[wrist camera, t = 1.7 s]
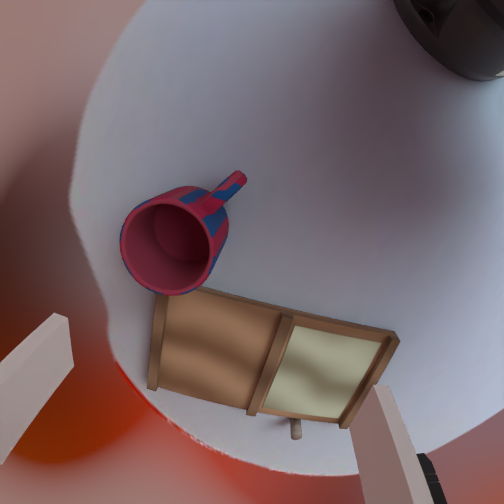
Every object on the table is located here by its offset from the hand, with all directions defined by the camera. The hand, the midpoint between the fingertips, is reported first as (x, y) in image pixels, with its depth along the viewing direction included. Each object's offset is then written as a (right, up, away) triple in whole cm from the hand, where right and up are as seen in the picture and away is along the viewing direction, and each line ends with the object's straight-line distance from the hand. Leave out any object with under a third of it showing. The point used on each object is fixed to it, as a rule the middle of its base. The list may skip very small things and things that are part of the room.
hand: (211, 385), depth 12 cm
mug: (-2, +8, +14) cm, 17 cm away
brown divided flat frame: (+3, -6, +19) cm, 20 cm away
